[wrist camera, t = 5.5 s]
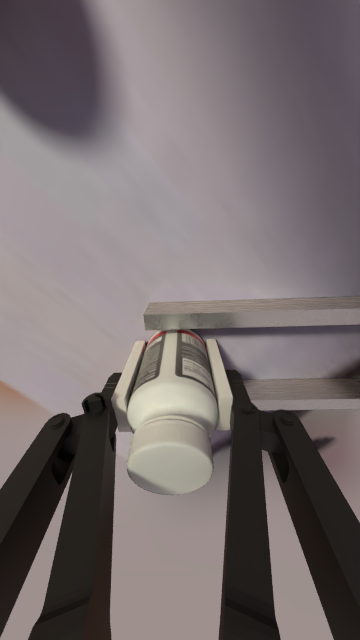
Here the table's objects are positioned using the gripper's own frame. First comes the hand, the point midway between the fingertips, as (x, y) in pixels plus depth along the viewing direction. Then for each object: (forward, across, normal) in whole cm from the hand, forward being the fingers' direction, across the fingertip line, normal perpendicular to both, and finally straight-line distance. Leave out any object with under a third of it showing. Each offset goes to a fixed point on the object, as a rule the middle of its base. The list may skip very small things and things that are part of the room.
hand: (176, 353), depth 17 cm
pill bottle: (+1, 0, 0) cm, 1 cm away
